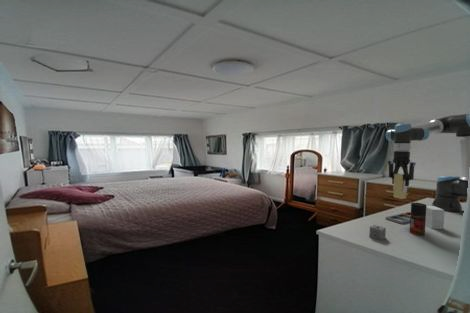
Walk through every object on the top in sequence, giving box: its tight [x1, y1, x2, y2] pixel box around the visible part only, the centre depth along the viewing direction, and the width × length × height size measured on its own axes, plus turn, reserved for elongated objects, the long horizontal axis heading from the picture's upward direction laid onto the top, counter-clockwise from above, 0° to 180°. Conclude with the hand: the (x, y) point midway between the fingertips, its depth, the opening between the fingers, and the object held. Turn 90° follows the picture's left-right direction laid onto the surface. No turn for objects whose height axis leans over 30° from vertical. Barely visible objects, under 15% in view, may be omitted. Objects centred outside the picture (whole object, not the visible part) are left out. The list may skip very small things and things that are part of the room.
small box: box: [425, 205, 445, 230], centre depth 121 cm, size 8×6×10 cm
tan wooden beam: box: [393, 172, 407, 200], centre depth 129 cm, size 4×4×14 cm
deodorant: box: [409, 202, 428, 237], centre depth 111 cm, size 6×6×15 cm
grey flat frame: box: [385, 211, 411, 225], centre depth 133 cm, size 24×9×2 cm, turn 115°
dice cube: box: [369, 224, 387, 241], centre depth 106 cm, size 5×5×5 cm
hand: (400, 190), depth 129 cm, fingers closed on tan wooden beam, 4 cm apart
